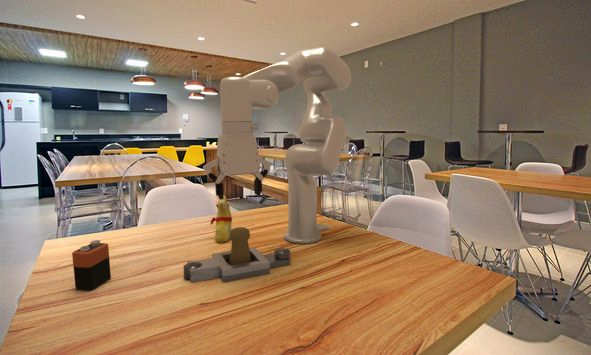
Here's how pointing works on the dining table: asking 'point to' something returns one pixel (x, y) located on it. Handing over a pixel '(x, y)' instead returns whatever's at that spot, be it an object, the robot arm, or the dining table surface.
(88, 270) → the battery
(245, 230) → the cork
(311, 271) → the dining table surface
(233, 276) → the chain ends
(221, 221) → the chocolate bunny
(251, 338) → the dining table surface
